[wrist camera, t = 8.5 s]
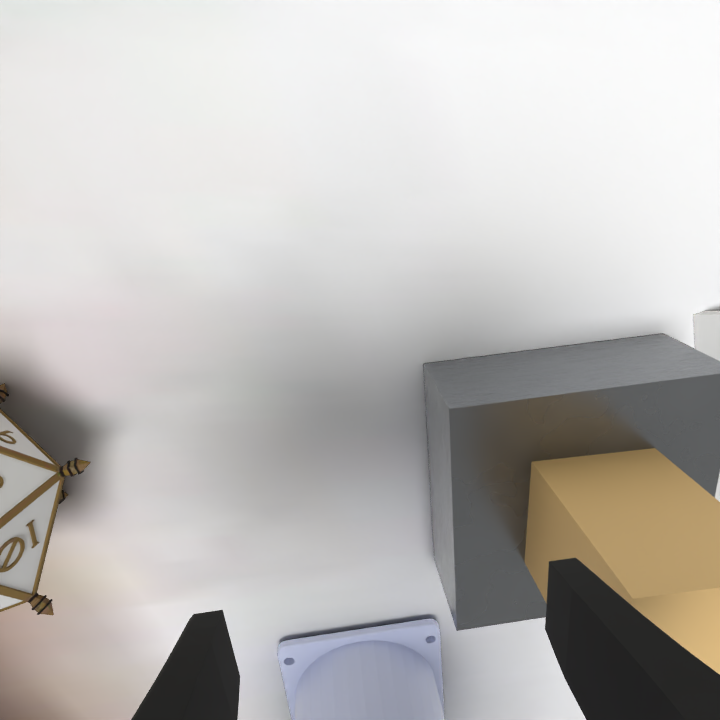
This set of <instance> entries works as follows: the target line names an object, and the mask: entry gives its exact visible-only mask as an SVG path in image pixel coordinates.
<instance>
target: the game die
mask: <svg viewBox="0 0 720 720" xmlns="http://www.w3.org/2000/svg"><path fill="white" fill-rule="evenodd" d="M6 396H9V394H7V391H6V387H5V383H4V384H2V385H0V404H1V403H2V402H5V397H6ZM90 463H91V462H88V461H83V460H79V459H77V458H75V460H74V461H68V462H67V464H66V465H64V466H60V465H59V464H58V463H57V462H56V461H55V460H54V459H53V458H52V457H51V456H50V455H49V454H48V453H46V452H45V451H44V450H43V449H42V448H41V447H40V446H39V445H38V444H37V443H36V442H35V441H34V440H33V439H32V438H31V437H30V436H28V435H27V434H26V433H25V432H24V431H23V430H22V429H21V428H20V427H19V426H18V425H17V424H16V423H15V422H14V421H13V420H12V419H11V418H9V417H8V416H7V415H6V414H5V413H4V412H3V411H2V410H1V409H0V612H1V611H4V610H7V609H10V608H12V607H15V606H18V605H20V604H23V603H26V602H29V603H30V604H31V606H32V610H36V611H37V612H38V613H37V615H39V614H47V615H54V614H53V608H52V603H51V601H52V599H51V600H49V599H47V598H46V595H45V596H41V595H38V593H37V590H38V586H39V582H40V577H41V573H42V569H43V565H44V561H45V557H46V553H47V549H48V545H49V540H50V536H51V532H52V528H53V524H54V520H55V516H56V512H57V508H58V504H60V503H61V502H62V501H63V500H64V499H65V498H66V497H67V496H68V494H66V493H65V492H64V490H62V487H63V483H64V479H65V476H68V475H71V477H72V476H74V475H75V474H77V473H78V475H79V474H81V473H82V472H84V469H85V468H86V467H87V466H88V465H89V464H90Z"/></svg>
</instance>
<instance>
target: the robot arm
mask: <svg viewBox="0 0 720 720" xmlns="http://www.w3.org/2000/svg"><path fill="white" fill-rule="evenodd" d="M545 630H546V632H547V635H548V637H549V640H550V643H551V645H552V648H553V650H554V653H555V655H556V658H557V660H558V663H559V665H560V667H561V670H562V672H563V675H564V677H565V679H566V681H567V683H568V685H569V687H570V689H571V691H572V693H573V695H574V697H575V699H576V701H577V702H578V704H579V706H580V708H581V710H582V712H583V714H584V716H585V718H586V720H720V674H718V673H717V672H716V671H714V670H713V669H712V668H710V667H709V666H707V665H706V664H705V663H703V662H702V661H701V660H699V659H698V658H697V657H695V656H694V655H693V654H691V653H690V652H689V651H688V650H686V649H685V648H684V647H682V646H681V645H680V644H679V643H677V642H676V641H675V640H673V639H672V638H671V637H670V636H669V635H667V634H666V633H665V632H664V631H662V630H661V629H660V628H659V627H657V626H656V625H655V624H654V623H652V622H651V621H650V620H649V619H647V618H646V617H645V616H644V615H643V614H641V613H640V612H639V611H638V610H637V609H635V608H634V607H633V606H632V605H631V604H629V603H628V602H627V601H626V600H625V599H624V598H622V597H621V596H620V595H619V594H618V593H616V592H615V591H614V590H613V589H612V588H611V587H610V586H608V585H607V584H606V583H605V582H604V581H603V580H601V579H600V578H599V577H598V576H597V575H596V574H594V573H593V572H592V571H591V570H590V569H589V568H588V567H586V566H585V565H584V564H583V563H582V562H580V561H579V560H578V559H577V558H569V559H562V560H555V561H549V568H548V587H547V606H546V624H545ZM277 655H278V660H279V664H280V669H281V673H282V678H283V682H284V687H285V691H286V696H287V701H288V705H289V710H290V714H291V719H292V720H445V718H444V699H443V680H442V660H441V641H440V628H439V625H438V622H437V621H436V620H434V619H423V620H416V621H409V622H403V623H396V624H390V625H383V626H377V627H370V628H364V629H357V630H350V631H344V632H337V633H331V634H324V635H318V636H311V637H305V638H298V639H291V640H286V641H283V642H281V643H280V644H279V645H278V654H277ZM288 657H289V658H288ZM239 685H240V675H239V671H238V667H237V663H236V660H235V656H234V652H233V648H232V644H231V641H230V637H229V633H228V629H227V625H226V622H225V618H224V614H223V610H219V611H212V612H205V613H199V614H194V615H193V616H192V617H191V618H190V619H189V621H188V623H187V625H186V627H185V629H184V631H183V632H182V634H181V636H180V638H179V640H178V641H177V643H176V645H175V647H174V649H173V651H172V652H171V654H170V656H169V658H168V659H167V661H166V663H165V665H164V666H163V668H162V670H161V672H160V673H159V675H158V677H157V678H156V680H155V682H154V683H153V685H152V687H151V688H150V690H149V692H148V693H147V695H146V697H145V698H144V700H143V701H142V703H141V705H140V706H139V708H138V710H137V711H136V713H135V715H134V716H133V718H132V719H131V720H237V716H238V702H239Z"/></svg>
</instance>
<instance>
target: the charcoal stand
mask: <svg viewBox="0 0 720 720" xmlns="http://www.w3.org/2000/svg"><path fill="white" fill-rule="evenodd" d="M424 382H425V401H426V420H427V438H428V457H429V475H430V494H431V512H432V531H433V550H434V560H435V563H436V566H437V570H438V573H439V576H440V579H441V582H442V585H443V589H444V592H445V595H446V598H447V601H448V604H449V608H450V611H451V614H452V617H453V620H454V623H455V627H456V630H457V631H458V630H464V629H471V628H477V627H484V626H490V625H497V624H503V623H510V622H516V621H523V620H529V619H536V618H542V617H546V606H547V603H546V602H545V600H544V598H543V596H542V594H541V592H540V590H539V589H538V587H537V585H536V583H535V581H534V579H533V577H532V575H531V574H530V572H529V570H528V568H527V566H526V564H525V548H526V534H527V519H528V505H529V491H530V477H531V462H533V461H543V460H552V459H561V458H570V457H579V456H588V455H597V454H606V453H615V452H624V451H633V450H642V449H651V448H656V449H657V450H658V451H659V452H660V453H662V454H663V455H664V456H665V457H666V458H668V459H669V460H670V461H671V462H672V463H674V464H675V465H676V466H677V467H678V468H680V469H681V470H682V471H683V472H684V473H686V474H687V475H688V476H689V477H690V478H692V479H693V480H694V481H695V482H696V483H698V484H699V485H700V486H701V487H702V488H704V489H705V490H706V491H707V492H708V493H710V494H711V495H712V496H713V497H714V498H715V493H716V488H717V483H718V478H719V473H720V361H719V360H716V359H714V358H712V357H710V356H708V355H706V354H704V353H702V352H700V351H698V350H696V349H694V348H692V347H690V346H688V345H686V344H684V343H682V342H680V341H678V340H676V339H674V338H672V337H670V336H668V335H665V334H655V335H648V336H640V337H632V338H624V339H616V340H608V341H600V342H592V343H584V344H576V345H568V346H560V347H552V348H544V349H537V350H529V351H521V352H513V353H505V354H497V355H489V356H481V357H473V358H465V359H457V360H449V361H441V362H433V363H425V364H424Z"/></svg>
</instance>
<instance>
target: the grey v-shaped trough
mask: <svg viewBox="0 0 720 720" xmlns="http://www.w3.org/2000/svg"><path fill="white" fill-rule="evenodd" d="M693 320H694V339H695V349H696V350H698V351H700V352H702V353H704V354H706V355H708V356H710V357H712V358H714V359H716V360H719V361H720V311H703V312H700V313H697V314H694V315H693ZM715 498H716V499H717V500H718V501H719V502H720V473H719V478H718V483H717V488H716V493H715Z"/></svg>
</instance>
